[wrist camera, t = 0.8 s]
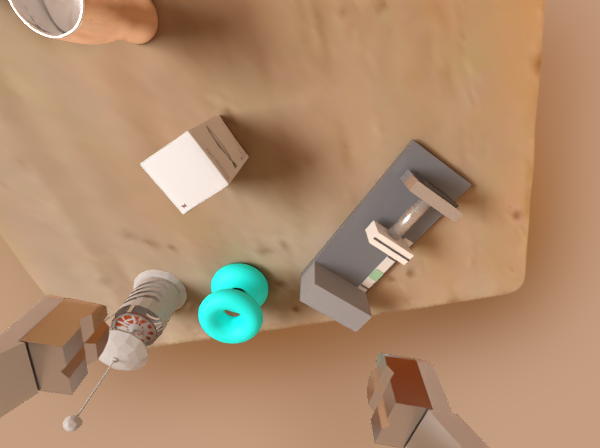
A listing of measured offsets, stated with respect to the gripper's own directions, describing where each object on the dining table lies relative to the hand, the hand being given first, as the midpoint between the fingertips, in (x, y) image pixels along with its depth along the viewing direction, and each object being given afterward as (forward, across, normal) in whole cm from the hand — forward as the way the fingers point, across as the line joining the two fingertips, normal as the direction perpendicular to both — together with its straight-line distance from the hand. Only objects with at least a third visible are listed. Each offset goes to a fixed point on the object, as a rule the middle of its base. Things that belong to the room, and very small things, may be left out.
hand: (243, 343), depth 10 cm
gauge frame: (+39, -16, +14) cm, 45 cm away
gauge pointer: (+37, -16, +14) cm, 43 cm away
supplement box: (+40, +11, +6) cm, 42 cm away
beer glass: (+40, +22, -8) cm, 46 cm away
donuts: (+40, +5, +30) cm, 50 cm away
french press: (+39, +20, +35) cm, 57 cm away
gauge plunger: (+37, -18, +8) cm, 43 cm away
